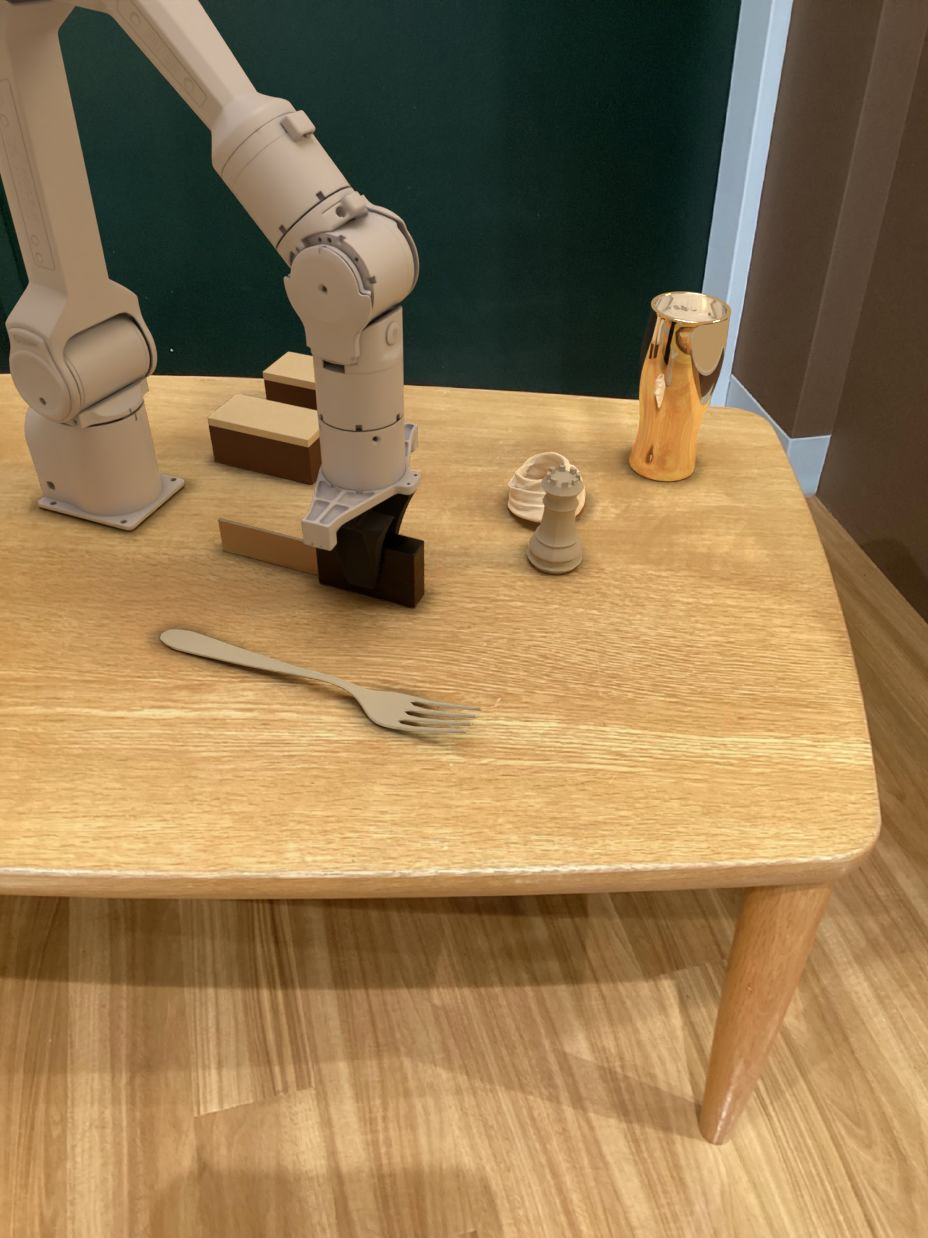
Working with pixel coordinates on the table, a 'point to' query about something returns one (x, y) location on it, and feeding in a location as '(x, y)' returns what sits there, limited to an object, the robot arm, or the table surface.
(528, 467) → the white ruffled curved piece
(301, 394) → the cake slice
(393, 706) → the fork
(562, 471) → the rook chess piece
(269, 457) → the cake
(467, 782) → the table surface
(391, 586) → the two-tone wooden slat
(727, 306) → the copper metal vase
